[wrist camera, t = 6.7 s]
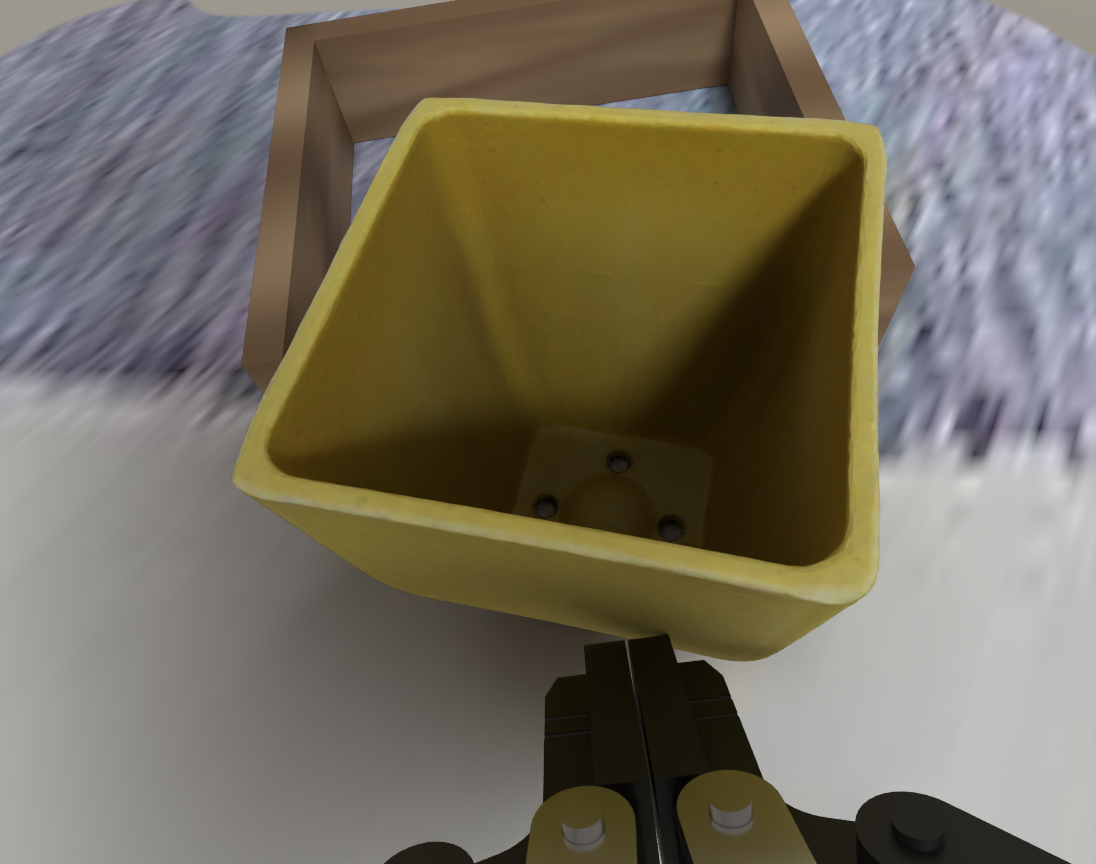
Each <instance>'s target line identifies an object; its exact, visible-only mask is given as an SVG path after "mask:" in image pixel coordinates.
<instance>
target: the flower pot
mask: <svg viewBox="0 0 1096 864" xmlns="http://www.w3.org/2000/svg"><path fill="white" fill-rule="evenodd" d="M886 173H887V155H886V148H885V145H884V141H883V138H882V134H881V132H880V130H879V129H878V128H877V127H875V126H873V125H870V124H864V123H857V122H850V121H843V120H832V119H819V118H795V117H769V116H754V115H740V114H715V113H692V112H680V111H666V110H649V109H628V108H606V107H599V106H587V105H562V104H546V103H535V102H523V101H501V100H486V99H476V98H432V97H431V98H424V99H423V100H422V101H421V102H419V103H418V104H417V106H416V107H415V108H414V109H413V111H412V112H411V113H410V115H409V116H408V117H407V118H406V120H405V121H404V123H403V124H402V126H401V127H400V130H399V132H398V134H397V136H396V138H395V139H394V141H393V143H392V144H391V146H390V148H389V150H388V152H387V154H386V155H385V157H384V159H383V161H382V163H381V165H380V167H379V169H378V171H377V173H376V175H375V176H374V178H373V180H372V183H371V185H370V187H369V190H368V192H367V193H366V195H365V197H364V199H363V201H362V203H361V205H360V207H359V209H358V211H357V213H356V215H355V217H354V219H353V221H352V223H351V225H350V227H349V229H348V230H347V232H346V234H345V236H344V238H343V240H342V241H341V243H340V246H339V249H338V251H337V253H336V255H335V257H334V259H333V261H332V263H331V265H330V267H329V270H328V272H327V274H326V276H325V278H324V280H323V282H322V284H321V286H320V288H319V290H318V291H317V293H316V295H315V297H314V299H313V301H312V303H311V305H310V306H309V308H308V310H307V312H306V314H305V316H304V318H303V320H302V322H301V323H300V325H299V328H298V330H297V332H296V334H295V336H294V338H293V340H292V343H291V345H290V347H289V349H288V350H287V352H286V354H285V356H284V358H283V360H282V361H281V363H280V365H279V367H278V369H277V370H276V372H275V374H274V376H273V378H272V379H271V381H270V383H269V385H268V387H267V389H266V391H265V393H264V395H263V397H262V399H261V401H260V403H259V405H258V407H257V410H256V412H255V414H254V417H253V419H252V421H251V423H250V425H249V427H248V430H247V433H246V435H245V438H244V441H243V444H242V446H241V449H240V452H239V454H238V457H237V460H236V463H235V466H234V470H233V473H232V483H233V484H234V485H235V486H236V487H237V488H238V489H239V490H240V491H242V492H243V493H245V494H246V495H248V496H250V497H251V498H253V499H254V500H256V501H257V502H259V503H260V504H262V505H263V506H265V507H266V508H268V509H270V510H271V511H273V512H274V513H276V514H277V515H279V516H280V517H281V518H283V519H284V520H286V521H287V522H289V523H290V524H292V525H293V526H295V527H296V528H298V529H300V530H301V531H303V532H304V533H306V534H307V535H309V536H310V537H312V538H313V539H314V540H316V541H317V542H319V543H320V544H322V545H323V546H325V547H326V548H328V549H329V550H331V551H332V552H334V553H335V554H337V555H338V556H340V557H341V558H343V559H344V560H346V561H347V562H349V563H350V564H352V565H353V566H355V567H356V568H358V569H359V570H361V571H363V572H364V573H366V574H368V575H369V576H371V577H373V578H374V579H376V580H378V581H379V582H381V583H384V584H386V585H388V586H391V587H393V588H396V589H399V590H402V591H405V592H408V593H411V594H415V595H419V596H422V597H426V598H431V599H436V600H442V601H447V602H452V603H458V604H463V605H468V606H473V607H478V608H483V609H488V610H493V611H498V612H503V613H508V614H514V615H519V616H524V617H529V618H534V619H539V620H544V621H549V622H554V623H559V624H564V625H568V626H573V627H578V628H582V629H587V630H592V631H597V632H601V633H606V634H610V635H615V636H620V637H624V638H629V639H636V638H644V637H653V636H661V635H669V637H670V640H671V643H672V647H673V648H674V649H678V650H683V651H687V652H691V653H695V654H700V655H704V656H709V657H713V658H718V659H723V660H730V661H755V660H759V659H763V658H766V657H769V656H771V655H773V654H775V653H777V652H779V651H780V650H782V649H784V648H785V647H787V646H788V645H790V644H792V643H793V642H795V641H796V640H798V639H800V638H801V637H803V636H804V635H806V634H808V633H809V632H811V631H812V630H814V629H815V628H817V627H818V626H820V625H822V624H823V623H825V622H826V621H827V620H829V619H830V618H832V617H833V616H835V615H836V614H838V613H839V612H841V611H842V610H844V609H845V608H847V607H848V606H850V605H852V604H854V603H855V602H857V601H858V600H860V599H861V598H862V597H864V596H865V595H866V594H868V592H869V591H870V590H871V589H872V587H873V586H874V584H875V581H876V578H877V574H878V570H879V539H880V491H879V453H878V357H877V355H878V322H879V294H880V279H881V253H882V239H883V221H884V215H883V213H884V196H885V184H886ZM614 456H624V457H626V458H627V459H628V460H629V462H630V467H629V468H628V470H626V471H624V472H621V473H617V472H614V471H612V470H611V469H610V468H609V461H610V460H611V459H612V458H613V457H614ZM545 498H547V499H552V500H553V501H555V503H556V505H557V510H556V512H555V513H554V514H553V515H552V516H550V517H547V518H544V517H541V516H539V515H538V514H537V513H536V510H535V507H536V504H537V503H538V502H539V501H540V500H542V499H545ZM666 520H673V521H675V522H677V523H678V524H679V525H680V526H681V529H682V533H681V535H680V536H679V537H678V538H677V539H674V540H668V539H665V538H664V537H662V536H661V534H660V532H659V526H660V525H661V523H662V522H664V521H666Z"/></svg>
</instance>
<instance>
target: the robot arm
mask: <svg viewBox="0 0 1096 864" xmlns="http://www.w3.org/2000/svg"><path fill="white" fill-rule="evenodd" d="M628 647H629V655H630V663H631V671H632V679H633V685H632V679H631V674H630V668H629V662H628V657H627V651H626V646H625V641H624V640H621V641H613V642H605V643H596V644H588V645H584V653H585V666H586V674H584V675H576V676H567V677H559V678H557V679H556V681H555V682H554V684H553V686H552V687H551V689H550V690H549V692H548V693H547V695H546V696H545V733H544V735H545V739H544V785H543V804H542V805H541V806H540V807H539V809H538V810H537V811H536V813H535V815H534V817H533V820H532V824H531V829H530V833H529V834H528V835H527V836H526V837H525V838H524V839H523V840H522V841H520V842H519V843H518V844H517V845H515V846H513V847H512V848H510V849H508V850H506V851H504V852H502V853H500V854H497V855H495V856H492V857H490V858H487V859H485V860H482V861H480V862H477V863H474V862H473V860H472V858H471V857H470V855H469V854H468V853H467V852H466V851H465V850H463V849H462V848H460V847H458V846H456V845H454V844H450V843H446V842H427V843H422V844H418V845H415V846H412V847H409V848H407V849H405V850H403V851H401V852H399V853H397V854H396V855H394V856H393V857H391V858H390V859H389V860H387V861H386V862H385V863H384V864H660V860H659V852H658V845H659V850H660V856H661V862H662V864H1071V863H1069V862H1067V861H1065V860H1063V859H1061V858H1059V857H1057V856H1054V855H1052V854H1050V853H1048V852H1046V851H1044V850H1042V849H1040V848H1038V847H1036V846H1034V845H1032V844H1030V843H1028V842H1026V841H1024V840H1022V839H1020V838H1018V837H1016V836H1014V835H1012V834H1010V833H1008V832H1005V831H1003V830H1001V829H999V828H997V827H995V826H993V825H991V824H989V823H987V822H985V821H983V820H981V819H979V818H977V817H975V816H973V815H971V814H969V813H967V812H965V811H963V810H961V809H959V808H956V807H954V806H952V805H950V804H948V803H946V802H944V801H942V800H939V799H937V798H934V797H931V796H928V795H924V794H919V793H914V792H890V793H884V794H881V795H877V796H875V797H873V798H871V799H869V800H868V801H867V802H865V803H864V804H863V805H862V806H861V808H860V809H859V811H858V813H857V815H856V820H855V822H854V821H847V820H840V819H833V818H826V817H821V816H816V815H812V814H809V813H805V812H803V811H800V810H798V809H796V808H793V807H792V806H790V805H788V804H786V803H785V802H784V800H783V798H782V797H781V795H780V794H779V792H778V791H777V790H776V789H775V788H774V787H773V786H772V785H771V784H770V783H768V782H767V781H766V780H764V779H763V777H762V774H761V772H760V769H759V766H758V764H757V761H756V759H755V756H754V754H753V751H752V749H751V746H750V744H749V741H748V738H747V736H746V733H745V731H744V728H743V726H742V723H741V721H740V718H739V716H738V715H737V710H736V708H735V705H734V703H733V700H732V699H731V695H730V693H729V690H728V687H727V685H726V682H725V680H724V677H723V675H722V674H720V673H719V672H718V671H717V670H716V669H714V668H713V667H712V666H711V665H709V664H708V663H707V662H706V661H705V660H699V661H691V662H682V663H677V660H676V657H675V653H674V650H673V647H672V643H671V640H670V637H669V635H661V636H653V637H644V638H636V639H628ZM633 687H634V690H633ZM634 695H635V696H634ZM655 827H656V828H655ZM656 833H657V836H656ZM657 839H658V844H657Z"/></svg>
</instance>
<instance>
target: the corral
mask: <svg viewBox="0 0 1096 864" xmlns="http://www.w3.org/2000/svg"><path fill="white" fill-rule="evenodd" d="M725 84H728V86H729V89H730V92H731V94H732V97H733V100H734V103H735V105H736V108H737V111H738V114H740V115H754V116H769V117H795V118H819V119H832V120H843V121H845V118H844V116H843V114H842V112H841V110H840V108H839V106H838V104H837V102H836V100H835V98H834V95H833V93H832V91H831V89H830V87H829V85H828V83H827V81H826V79H825V77H824V74H823V72H822V70H821V68H820V66H819V64H818V62H817V60H816V58H815V56H814V53H813V51H812V49H811V47H810V45H809V43H808V41H807V39H806V37H805V35H804V33H803V30H802V28H801V26H800V24H799V22H798V20H797V18H796V16H795V14H794V12H793V9H792V7H791V5H790V3H789V1H788V0H455V1H449V2H443V3H437V4H431V5H424V6H418V7H412V8H406V9H400V10H394V11H388V12H381V13H375V14H369V15H363V16H357V17H351V18H345V19H339V20H332V21H326V22H320V23H314V24H308V25H302V26H296V27H289V28H287V29H286V36H285V43H284V51H283V58H282V66H281V73H280V81H279V88H278V96H277V103H276V111H275V118H274V125H273V133H272V140H271V148H270V155H269V163H268V170H267V178H266V185H265V193H264V200H263V207H262V215H261V222H260V230H259V237H258V245H257V252H256V260H255V267H254V275H253V282H252V289H251V297H250V304H249V312H248V319H247V327H246V334H245V342H244V349H243V357H242V364H241V366H242V367H243V369H244V370H245V371H246V372H247V374H248V375H249V376H250V377H251V379H252V380H253V381H254V383H255V384H256V385H257V386H258V388H259V389H260V390H261V391H262V393H263V394H264V393H265V391H266V389H267V387H268V385H269V383H270V381H271V379H272V378H273V376H274V374H275V372H276V370H277V369H278V367H279V365H280V363H281V361H282V360H283V358H284V356H285V354H286V352H287V350H288V349H289V347H290V345H291V343H292V340H293V338H294V336H295V334H296V332H297V330H298V328H299V325H300V323H301V322H302V320H303V318H304V316H305V314H306V312H307V310H308V308H309V306H310V305H311V303H312V301H313V299H314V297H315V295H316V293H317V291H318V290H319V288H320V286H321V284H322V282H323V280H324V278H325V276H326V274H327V272H328V270H329V267H330V265H331V263H332V261H333V259H334V257H335V255H336V253H337V251H338V249H339V246H340V243H341V241H342V240H343V238H344V236H345V234H346V232H347V230H348V229H349V227H350V212H351V192H352V171H353V150H354V143H355V142H361V141H368V140H374V139H380V138H387V137H393V136H397V134H398V132H399V130H400V127H401V126H402V124H403V123H404V121H405V120H406V118H407V117H408V116H409V115H410V113H411V112H412V111H413V109H414V108H415V107H416V106H417V104H418V103H419V102H421V101H422V100H423V99H424V98H431V97H432V98H476V99H486V100H501V101H523V102H535V103H546V104H562V105H587V106H591V105H597V104H603V103H610V102H616V101H623V100H629V99H635V98H642V97H648V96H654V95H661V94H667V93H674V92H680V91H686V90H693V89H699V88H705V87H712V86H718V85H725ZM883 215H884V221H883V239H882V253H881V279H880V294H879V322H878V346H879V344H880V342H881V340H882V338H883V336H884V333H885V331H886V329H887V327H888V325H889V323H890V320H891V318H892V316H893V314H894V312H895V310H896V308H897V305H898V303H899V301H900V299H901V297H902V295H903V293H904V290H905V288H906V286H907V284H908V282H909V280H910V277H911V275H912V273H913V271H914V269H915V265H914V263H913V261H912V259H911V257H910V255H909V253H908V250H907V248H906V246H905V244H904V242H903V240H902V238H901V236H900V234H899V232H898V230H897V227H896V225H895V223H894V221H893V219H892V217H891V215H890V213H889V211H888V209H887V206H886V204H885V202H884V213H883Z"/></svg>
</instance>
